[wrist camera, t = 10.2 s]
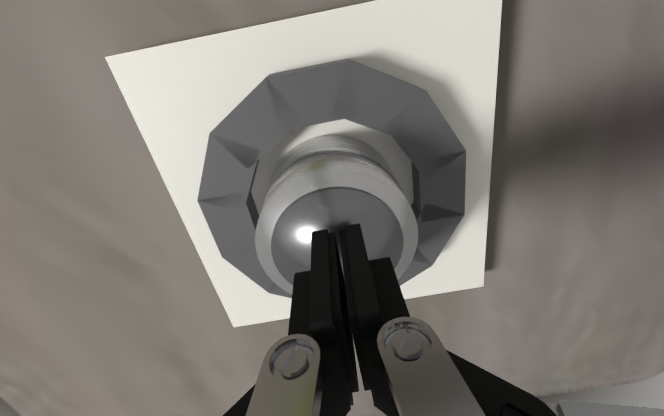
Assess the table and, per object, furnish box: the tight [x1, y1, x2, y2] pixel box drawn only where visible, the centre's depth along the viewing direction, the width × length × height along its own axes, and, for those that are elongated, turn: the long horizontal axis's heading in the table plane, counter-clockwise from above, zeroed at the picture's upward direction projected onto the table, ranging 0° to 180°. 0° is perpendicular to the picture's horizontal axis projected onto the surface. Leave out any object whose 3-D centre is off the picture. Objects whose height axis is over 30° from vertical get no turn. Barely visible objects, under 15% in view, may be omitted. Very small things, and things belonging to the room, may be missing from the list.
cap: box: [255, 135, 418, 295], centre depth 13 cm, size 6×6×4 cm
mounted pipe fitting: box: [105, 0, 502, 327], centre depth 15 cm, size 15×15×2 cm
